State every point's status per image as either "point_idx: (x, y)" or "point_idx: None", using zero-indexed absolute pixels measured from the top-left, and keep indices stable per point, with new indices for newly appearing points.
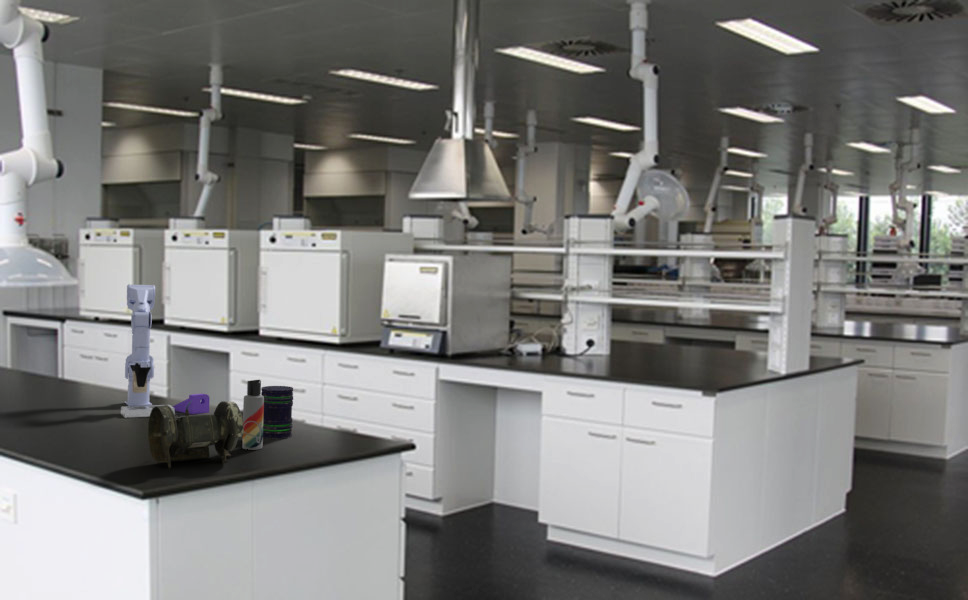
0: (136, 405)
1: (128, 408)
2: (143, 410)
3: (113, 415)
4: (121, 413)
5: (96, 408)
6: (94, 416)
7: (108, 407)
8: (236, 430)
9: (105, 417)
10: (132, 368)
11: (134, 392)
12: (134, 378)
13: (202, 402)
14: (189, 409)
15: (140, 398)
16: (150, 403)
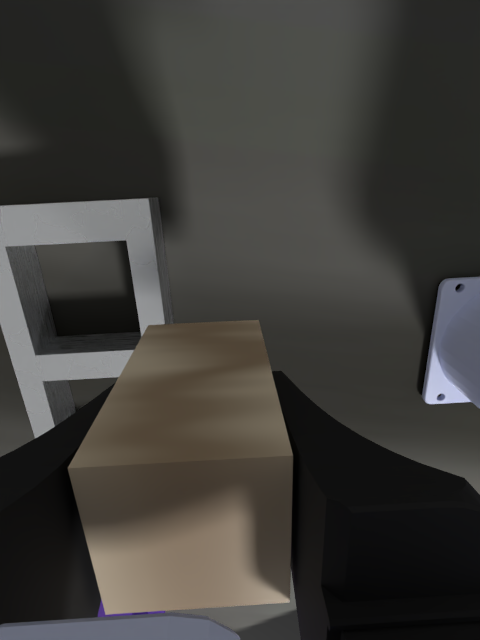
0: (433, 322)
1: (54, 241)
2: (6, 329)
3: (107, 140)
4: (137, 198)
5: (455, 45)
6: None
7: (464, 143)
8: None
9: (22, 69)
10: (311, 487)
11: (149, 326)
12: (126, 398)
13: (135, 614)
14: None
15: (462, 362)
16: (449, 398)
